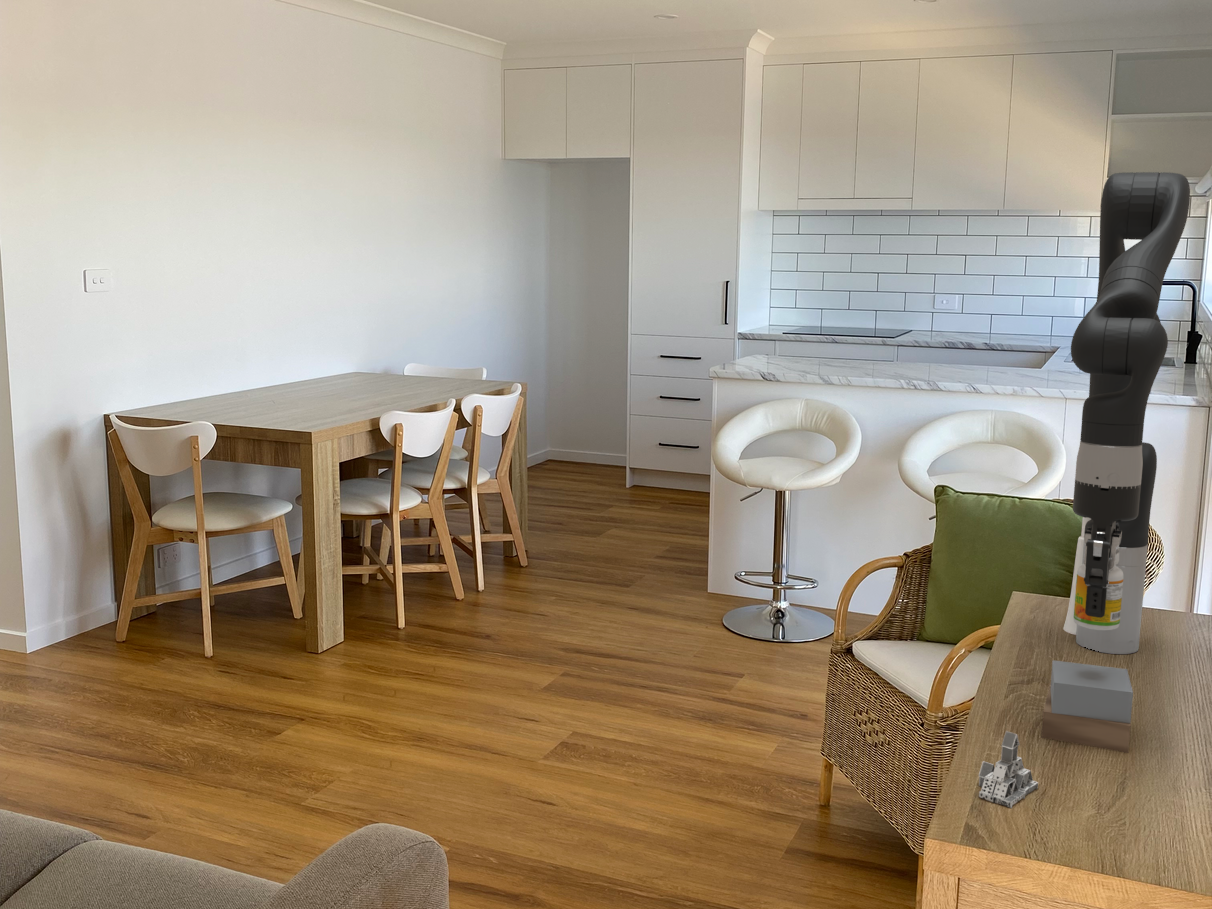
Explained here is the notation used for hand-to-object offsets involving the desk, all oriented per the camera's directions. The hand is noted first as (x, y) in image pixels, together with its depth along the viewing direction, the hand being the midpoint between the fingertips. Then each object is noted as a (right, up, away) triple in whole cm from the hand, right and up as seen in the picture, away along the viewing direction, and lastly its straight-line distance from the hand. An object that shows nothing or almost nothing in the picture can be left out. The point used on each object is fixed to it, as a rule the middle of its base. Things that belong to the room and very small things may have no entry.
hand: (1097, 609), depth 139 cm
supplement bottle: (0, -2, 0) cm, 2 cm away
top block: (0, -13, +2) cm, 13 cm away
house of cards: (-18, -19, -14) cm, 30 cm away
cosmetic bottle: (+18, -10, +45) cm, 49 cm away
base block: (0, -16, +2) cm, 17 cm away
